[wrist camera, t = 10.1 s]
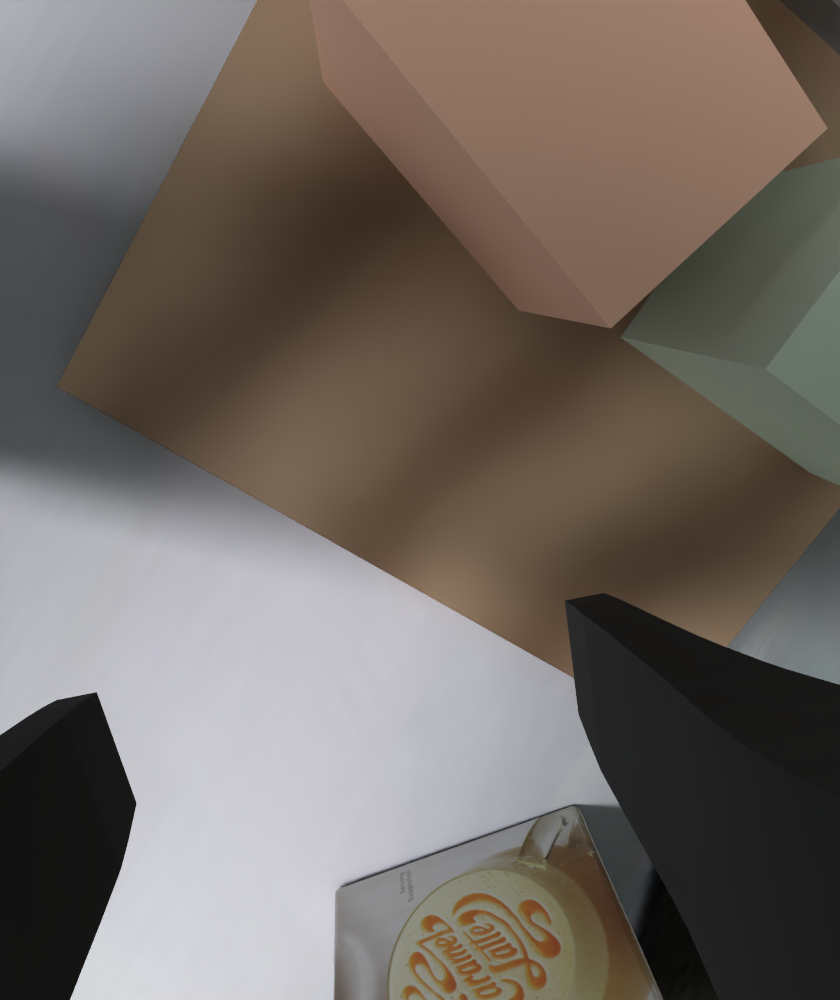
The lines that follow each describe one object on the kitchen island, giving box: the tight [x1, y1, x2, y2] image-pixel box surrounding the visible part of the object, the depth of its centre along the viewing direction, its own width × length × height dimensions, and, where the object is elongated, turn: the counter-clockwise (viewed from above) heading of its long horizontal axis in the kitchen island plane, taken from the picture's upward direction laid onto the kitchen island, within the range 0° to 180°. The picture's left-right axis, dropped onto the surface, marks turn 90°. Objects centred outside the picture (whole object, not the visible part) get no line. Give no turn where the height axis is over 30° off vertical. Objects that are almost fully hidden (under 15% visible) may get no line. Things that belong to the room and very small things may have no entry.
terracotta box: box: [309, 0, 828, 328], centre depth 14 cm, size 5×7×7 cm
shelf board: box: [57, 0, 840, 678], centre depth 18 cm, size 20×18×2 cm
